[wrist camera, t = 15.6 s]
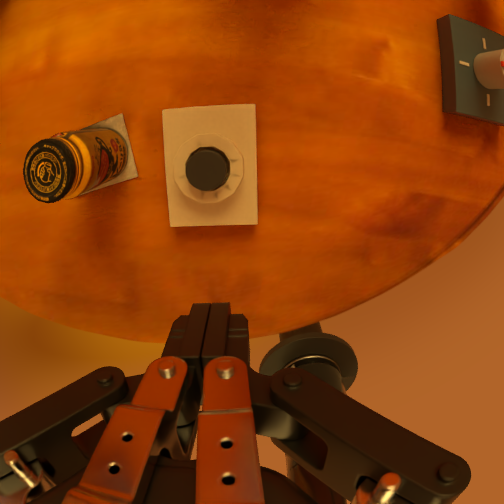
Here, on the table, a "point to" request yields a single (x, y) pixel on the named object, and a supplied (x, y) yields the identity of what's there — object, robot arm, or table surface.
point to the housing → (229, 146)
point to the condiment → (79, 161)
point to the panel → (468, 70)
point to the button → (206, 170)
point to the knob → (490, 69)
